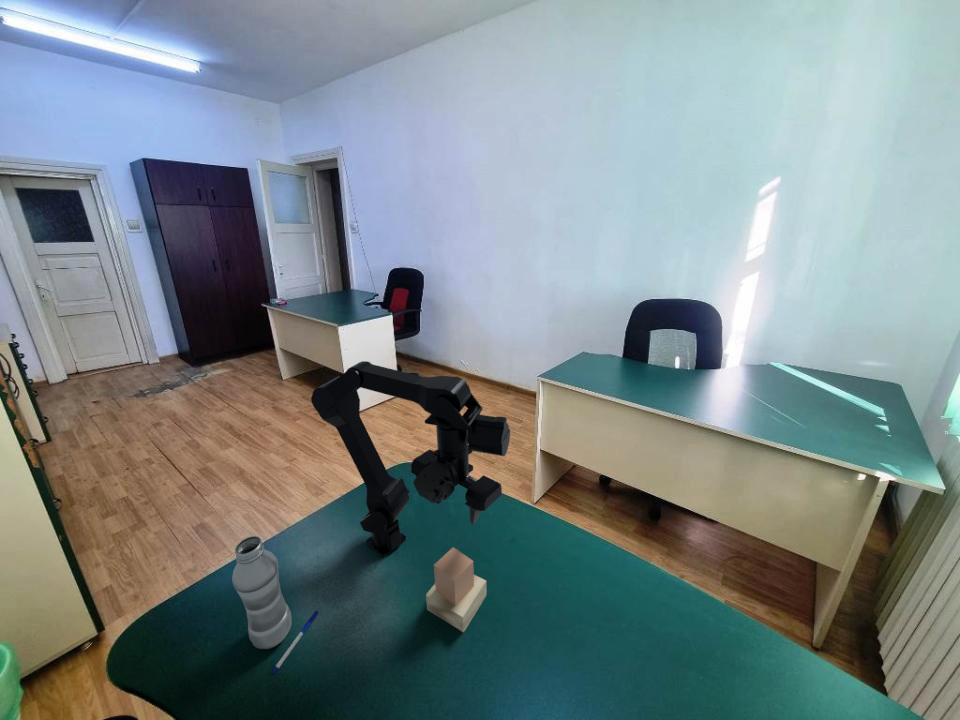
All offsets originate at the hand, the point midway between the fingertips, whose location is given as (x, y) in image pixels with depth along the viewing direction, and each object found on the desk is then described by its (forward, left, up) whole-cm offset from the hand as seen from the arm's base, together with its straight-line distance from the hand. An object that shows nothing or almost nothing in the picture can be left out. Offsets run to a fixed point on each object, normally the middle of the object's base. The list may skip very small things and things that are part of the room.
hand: (455, 512), depth 74 cm
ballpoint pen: (-11, -29, -13) cm, 34 cm away
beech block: (+6, -7, -13) cm, 16 cm away
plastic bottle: (-15, -31, -13) cm, 37 cm away
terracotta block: (+6, -7, -9) cm, 13 cm away
